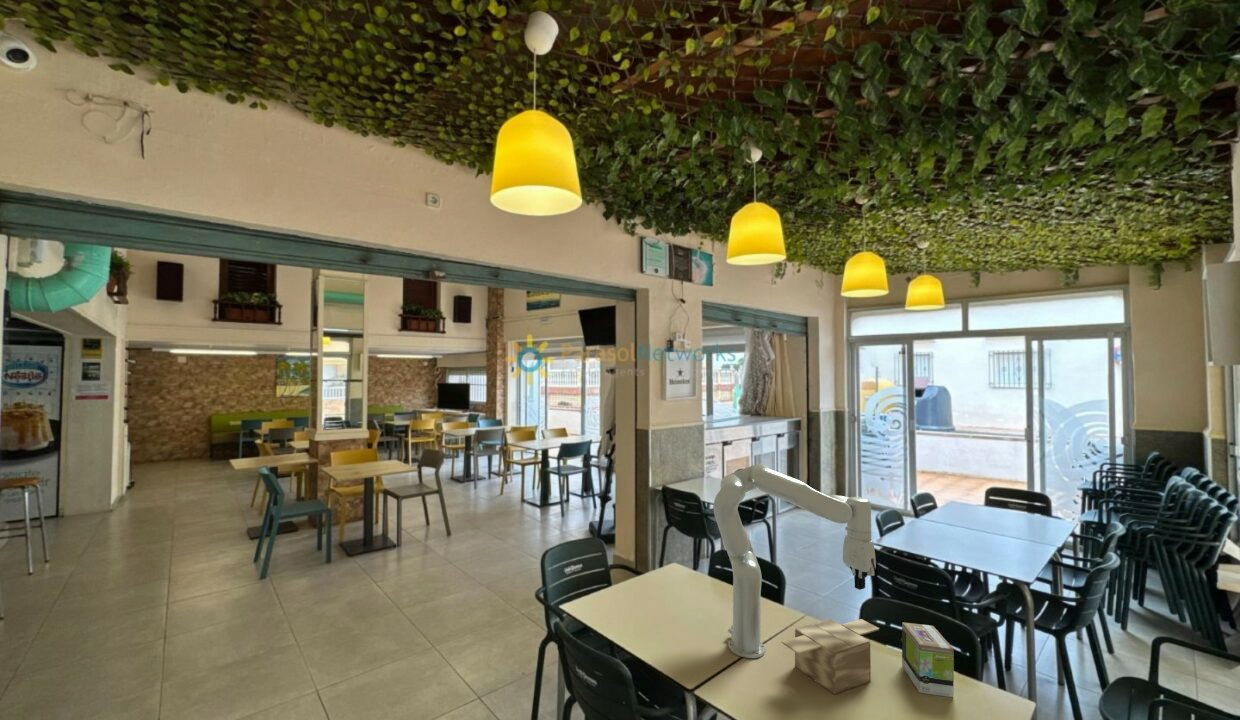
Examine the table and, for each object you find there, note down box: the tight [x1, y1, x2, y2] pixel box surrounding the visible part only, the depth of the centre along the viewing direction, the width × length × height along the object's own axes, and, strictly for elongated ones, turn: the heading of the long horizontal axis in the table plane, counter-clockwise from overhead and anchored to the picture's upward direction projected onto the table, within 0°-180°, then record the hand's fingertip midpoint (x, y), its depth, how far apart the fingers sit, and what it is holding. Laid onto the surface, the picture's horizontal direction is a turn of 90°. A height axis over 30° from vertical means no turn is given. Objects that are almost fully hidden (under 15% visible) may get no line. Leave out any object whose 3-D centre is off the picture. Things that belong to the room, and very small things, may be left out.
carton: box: [794, 629, 872, 695], centre depth 159 cm, size 16×16×12 cm
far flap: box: [813, 618, 880, 648], centre depth 164 cm, size 15×18×1 cm
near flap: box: [781, 623, 852, 654], centre depth 156 cm, size 15×18×1 cm
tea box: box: [901, 621, 955, 698], centre depth 156 cm, size 15×10×15 cm, turn 168°
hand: (859, 588), depth 168 cm, fingers closed
